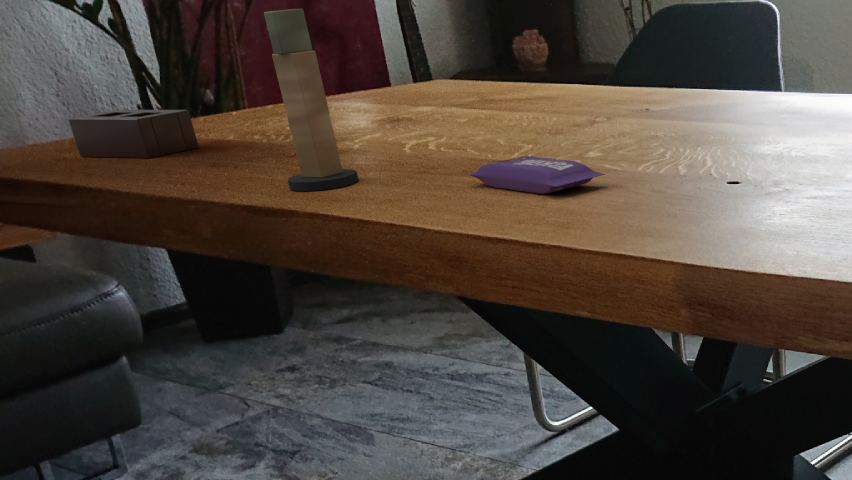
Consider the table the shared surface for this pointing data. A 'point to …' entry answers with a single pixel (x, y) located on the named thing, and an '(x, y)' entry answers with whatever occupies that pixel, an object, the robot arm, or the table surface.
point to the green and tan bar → (303, 94)
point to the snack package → (535, 174)
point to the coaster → (323, 181)
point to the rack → (134, 133)
